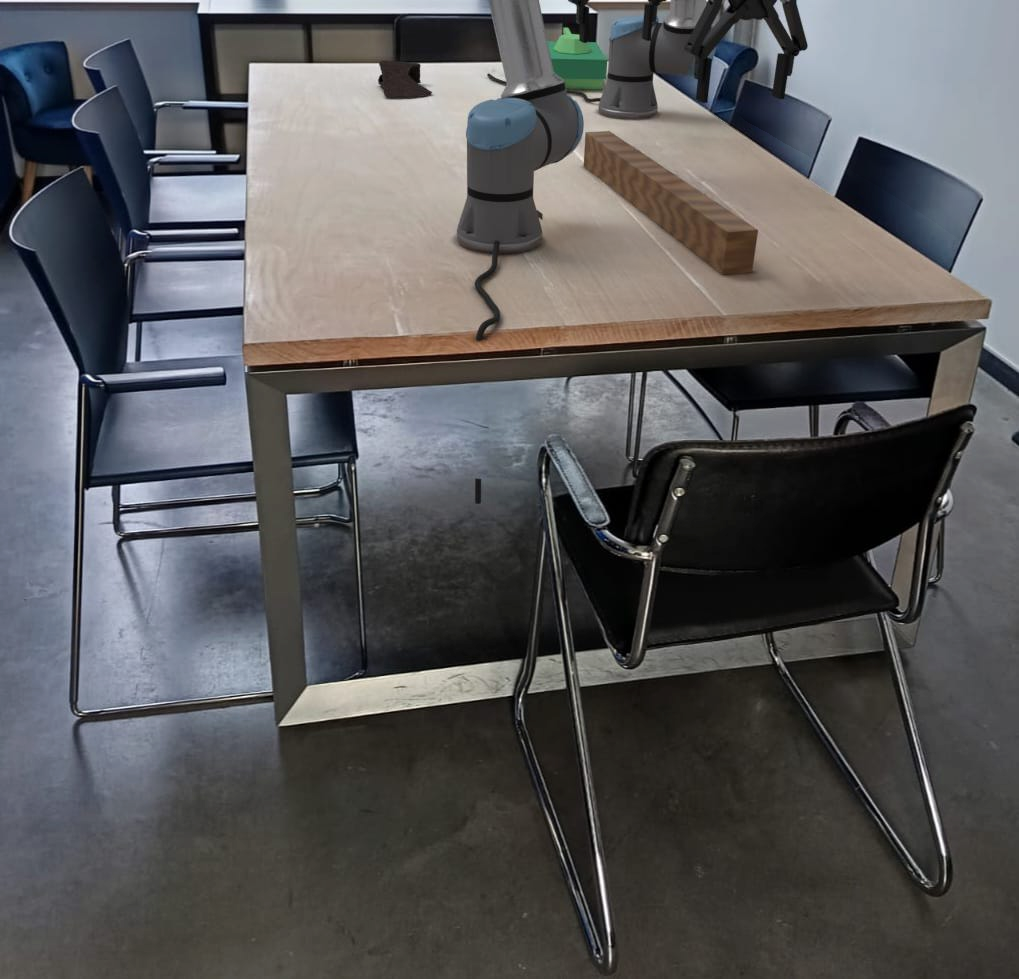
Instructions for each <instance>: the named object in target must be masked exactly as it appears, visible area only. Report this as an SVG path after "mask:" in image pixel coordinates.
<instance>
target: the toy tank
mask: <svg viewBox="0 0 1019 979" xmlns="http://www.w3.org/2000/svg"><path fill="white" fill-rule="evenodd" d="M562 32H563V34H561V35H560V36H559V38H558V39H557V41H551V40H550V41H548V40H547V42H548V47H549V52H550V57H551V62H552V67H553V71H554V73H555V74H556V75H558V76H559V77H561V78H562V79H563V80H564V82H565V87H566V90H603V85H604V80H607V75H608V58H607V57H606V55H605V53H604V52H603V50H602V49H601V47H600V46H599V44H598V43H597V42H595V41H593V42H592V41H591V42H590V41H588V42H587V43H583V42H581V41H579V36H580V34H577V33H576V34H575V33H572V32H571V30H570V28H569V27H563V29H562Z"/></svg>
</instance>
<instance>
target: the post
mask: <svg viewBox="0 0 1019 979" xmlns="http://www.w3.org/2000/svg"><path fill="white" fill-rule="evenodd" d="M584 136H585V137H584V150H583V168H585V169H586V170H587V171H589V172H590V173H591V174H592V175H594V176H595V177H597V178H598V179H599V180H600V181H602V182H603V183H604V184H605V185H607V187H609V188H610V189H612V190H613V191H614V192H616V193H617V194H618V195H620V196H621V197H622V198H623V199H625V200H626V201H627V202H628V203H629V204H631V205H632V206H634V208H636V209H638V210H639V211H640V212H641V213H642V214H644V215H645V216H646V217H648V218H649V220H652V221H653V222H654V223H655V224H657V225H658V226H659V227H660V228H662V229H663V230H664V231H665V232H667V233H668V234H670V235H671V236H672V237H674V238H675V239H676V240H677V241H678V242H680V243H681V244H682V245H683V246H685V247H686V248H687V249H689V250H690V251H691V252H693V253H694V254H695V255H696V256H698V257H699V258H700V259H702V260H703V261H704V262H706V264H708V265H709V266H711V267H712V268H713V269H714V270H716V271H717V272H718V273H719V274H721V275H722V276H724V275H735V274H736V275H737V274H746V273H753V269H754V262H755V255H756V248H757V242H758V234H759V229H758V228H756V227H755V226H754V225H751V224H750V223H749V222H747V221H746V220H744V219H743V218H742V217H740V216H739V215H736V213H733V212H732V211H731V210H729V209H728V208H726V207H725V206H723V205H721V204H720V203H719V202H717V201H716V200H714V199H713V198H711V197H709V196H708V195H707V194H705V193H704V192H702V191H700V190H699V189H698V188H696V187H694V186H693V185H692V184H690V183H689V182H687V181H685V179H682V178H681V177H679V176H678V175H677V174H675V173H673V172H672V171H670V170H669V169H668V168H666V167H664V166H663V165H661V164H660V163H658V162H657V161H656V160H654V159H652V157H651V158H650V156H648V155H646V154H645V153H643V152H642V151H640V150H639V149H638V148H636V147H635V146H633V145H631V144H630V143H628V142H627V141H625V140H624V139H622V138H621V137H619V136H618V135H617V134H615V133H614V132H612V131H610V130H602V131H585V134H584Z"/></svg>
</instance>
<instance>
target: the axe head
mask: <svg viewBox="0 0 1019 979" xmlns="http://www.w3.org/2000/svg"><path fill="white" fill-rule="evenodd" d="M378 66H379V68H380V72H381V74H379V75H378V79H377V84H378V85H379V86H380V87H381V88H382V89H383V95H384V96H385V97H388V98H394V99H395V98H396V99H403V98H405V99H406V98H407V99H411V98H418V97H425V96H429V95H432V94H433V91H431V90H430V89H428V88H427V87H425V86H422V85H421V84H422V82H421V63H419V62H410V61H408V62H407V61H397V60H388V59H387V60H380V61H379V62H378Z"/></svg>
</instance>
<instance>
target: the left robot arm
mask: <svg viewBox="0 0 1019 979" xmlns="http://www.w3.org/2000/svg"><path fill="white" fill-rule="evenodd" d="M487 1H488V6H489V10H490V15H491V19H492V23H493V29H494V32H495V37H496V42H497V47H498V51H499V55H500V61H501V64H502V69H503V73H504V78H505V81H506V83H507V84H506V85H505V87H504V89H503V91H502V93H501V94H500V97H499V98H496V99H487V100H484V101H482V102H479V103H477V104H475V105H474V106H473V107H471V109H470V111H469V113H468V115H467V122H466V129H465V130H466V131H465V138H466V192H467V193H466V198H465V202H464V205H463V209H462V211H461V214H460V218H459V220H458V224H457V227H456V241H457V243H458V244H459V245H461V246H462V247H464V248H466V249H468V250H470V251H475V252H479V253H486V254H491V265H490V267H489V268H488V269H487V270H486V271H484V272H483V273H482V274H480V275H478V276H477V278H476V279H475V281H474V287H475V290H476V291H477V293H478V294H479V295H480V297H481V298H483V300H484V301H485V303H486V304H487V306H488V308H490V310H491V311H492V313H493V317H490V318H488V319H486V320H484V321H483V322H481V324H480V325H479V327H478V330H477V331H476V332H477V333H476V337H475V341H476V342H482V341H483V339H484V334H485V331H486V330H487V328H489V327H490V326H493V325H495V324H497V323H498V322H499V321H500V319H501V312H500V309H499V307H498V306H497V305H496V303H495V302H494V300H493V299H492V298H491V296H490V295H489V293H488V292H487V291H486V290H485V288H483V286H482V283H483V282H484V281H485V280H487V279H488V278H489V277H491V276H492V275H493V274H494V273H495V272H496V270H497V267H498V263H499V254H500V255H506V254H507V255H508V254H517V253H524V252H527V251H530V250H533V249H536V248H538V247H539V246H540V245H541V244H542V243H543V229H542V224H541V221H543V217H544V214H543V212H541V211H539V209H537V206H536V204H535V199H534V184H535V181H534V180H535V171H538V170H540V169H542V168H544V167H546V166H549V165H552V164H557V163H559V162H561V161H562V160H564V159H565V158H567V157H568V156H570V155H571V154H572V153H573V152H574V151H575V150H576V149H577V148H578V146H579V145H580V142H581V140H582V137H583V134H584V127H585V126H584V125H585V122H584V120H585V119H584V114H583V111H582V109H581V107H580V105H579V103H578V102H577V100H575V99H573V98H572V96H571V94H568V93H567V92H566V90H567V89H566V87H565V82H564V80H563V79H562V78H561V77H559V76H558V75H556V74H555V73H554V71H553V67H552V62H551V57H550V52H549V47H548V42H547V41H548V37H547V34H546V33H547V32H546V28H545V23H544V17H543V13H542V8H541V4H540V3H541V2H540V0H487ZM727 2H728V4H729V5H728V6H727V8H726V9H725V10H724V11H723V12H722V14H721V17H720V18H719V20H718V21H716V23H715V25H713V24H714V22H715V20H716V18H717V16H718V14H719V12H720V10H721V8H722V6H723V5H724V4H725V3H726V0H707V1H706V7H705V8H704V10H703V12H702V14H701V16H700V18H699V20H698V22H697V24H696V26H695V28H694V30H693V32H692V33H691V35H690V37H689V39H688V41H687V43H686V45H685V47H684V50H685V51H686V52H688V53H690V54H693V55H694V56H695V65H694V76H693V78H694V79H695V80H697V82H696V93H695V100H696V101H698V102H700V103H702V104H706V103H707V104H708V100H709V92H710V85H711V84H710V83H711V76H712V75H711V73H712V64H713V61H712V59H710V58H708V56H709V54H710V53H711V52H712V51H713V49H714V48H715V47H716V48H717V46H718V45H719V44H720V42H721V41H722V40H723V38H724V37H725V36H726V35H727V33H729V31H730V30H731V29H732V27H733V26H734V25H736V24H737V23H738V22H739V21H740V20H742V21H750V20H753V19H754V20H756V21H763V20H764V22H765V23H766V24H767V26H768V29H769V30H770V32H771V33H772V34H773V37H774V39H775V40H776V42H777V43H778V45H779V46H780V49H781V50H782V53H781V52H778V53H777V55H776V63H775V70H774V78H773V83H772V84H773V85H772V93H771V97H774V98H776V99H778V100H785V95H786V90H787V81H788V77H791V76H792V74H793V69H794V65H795V64H794V63H795V57H798V56H799V55H800V52H802V51H804V52H805V51H806V50H807V49H808V48H809V44H808V41H807V37H806V34H805V29H804V26H803V21H802V18H801V14H800V10H799V6H798V3H797V2H798V0H779V2H780V3H781V5H782V9H783V13H784V16H785V20H786V23H787V28H788V31H787V30H786V28H785V26H784V24H783V23H782V21H781V19H780V18H779V17H780V15H779V13H778V12H777V10H776V7H774V6H775V5H776V3H777V2H778V0H727ZM713 26H714V27H713ZM711 27H713V28H712V30H711V31H710V32H709V33H708V31H709V30H710V28H711ZM707 33H708V35H707ZM706 35H707V36H706ZM540 220H541V221H540ZM474 504H476V505H479V504H482V479H481V478H475V479H474Z"/></svg>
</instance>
